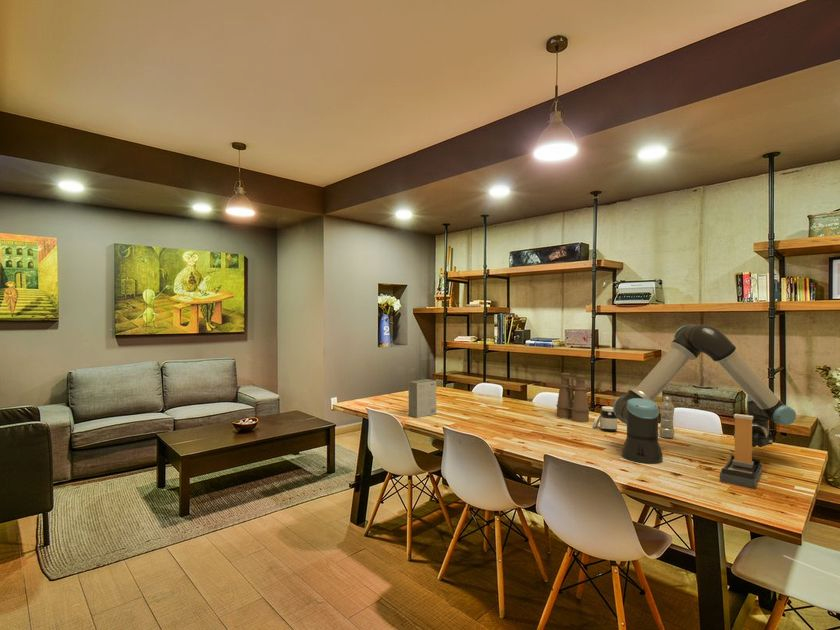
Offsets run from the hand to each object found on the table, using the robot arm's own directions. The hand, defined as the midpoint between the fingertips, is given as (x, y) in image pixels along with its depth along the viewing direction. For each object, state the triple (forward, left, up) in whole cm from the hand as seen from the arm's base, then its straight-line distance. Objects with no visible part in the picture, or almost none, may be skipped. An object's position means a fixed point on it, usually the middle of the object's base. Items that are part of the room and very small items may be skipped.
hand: (747, 446), depth 171 cm
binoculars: (-14, +95, -10) cm, 96 cm away
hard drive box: (-96, +120, -10) cm, 153 cm away
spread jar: (-12, +69, -10) cm, 70 cm away
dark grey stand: (-7, -3, -10) cm, 12 cm away
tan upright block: (-3, -1, -7) cm, 8 cm away
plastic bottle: (+8, +49, -10) cm, 50 cm away
